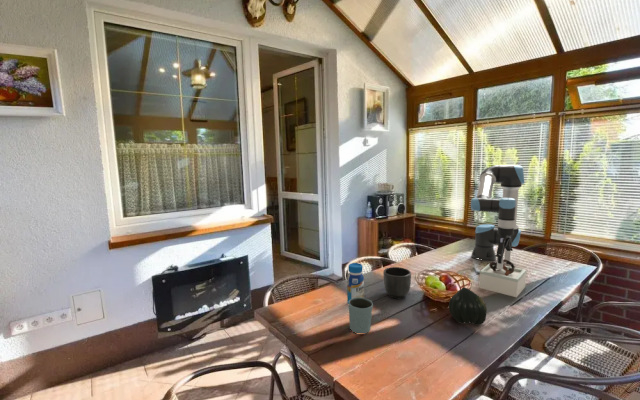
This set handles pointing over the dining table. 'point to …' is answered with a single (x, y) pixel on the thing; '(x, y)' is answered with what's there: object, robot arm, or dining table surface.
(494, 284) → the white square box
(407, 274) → the planter
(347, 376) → the dining table surface
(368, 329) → the green tumbler cup
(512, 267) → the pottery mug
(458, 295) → the squash
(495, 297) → the dining table surface
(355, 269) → the beverage bottle
